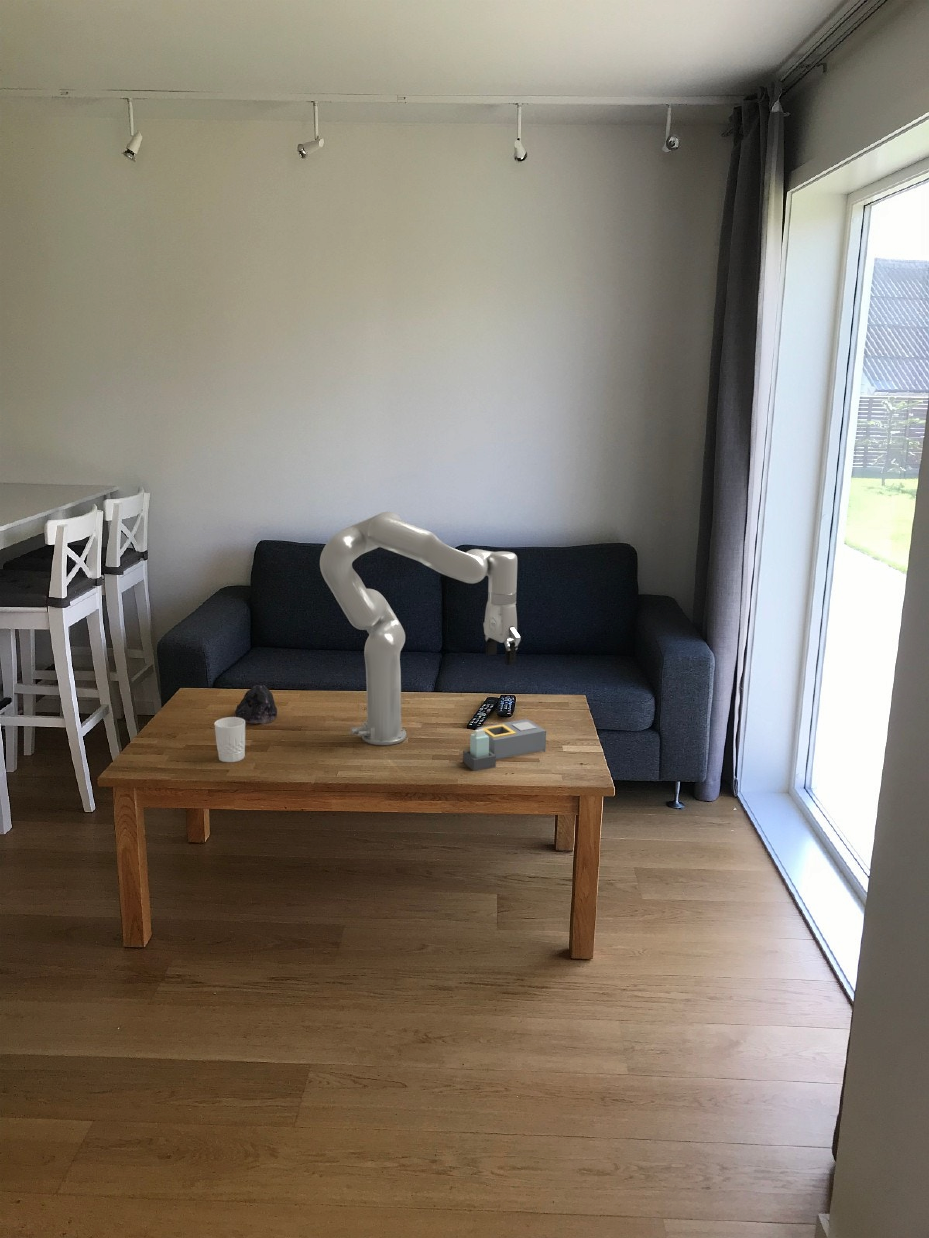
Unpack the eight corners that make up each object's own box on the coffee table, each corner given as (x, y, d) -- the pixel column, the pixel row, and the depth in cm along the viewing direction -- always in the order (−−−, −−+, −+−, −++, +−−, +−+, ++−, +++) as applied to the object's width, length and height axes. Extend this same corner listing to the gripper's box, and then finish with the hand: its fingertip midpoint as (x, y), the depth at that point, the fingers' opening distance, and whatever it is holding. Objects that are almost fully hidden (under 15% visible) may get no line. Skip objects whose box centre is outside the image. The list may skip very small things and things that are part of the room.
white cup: (231, 765, 240) (229, 729, 238) (210, 759, 245) (207, 723, 242) (253, 755, 247) (251, 720, 244) (231, 749, 251) (230, 714, 248)
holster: (473, 772, 238) (474, 760, 237) (462, 763, 244) (462, 751, 243) (495, 768, 241) (496, 755, 240) (484, 759, 247) (484, 747, 246)
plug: (476, 767, 240) (476, 733, 238) (469, 762, 243) (470, 728, 241) (488, 765, 242) (489, 731, 239) (482, 760, 245) (482, 726, 242)
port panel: (494, 761, 246) (494, 739, 244) (476, 748, 254) (476, 726, 253) (545, 751, 253) (546, 729, 251) (526, 738, 261) (527, 717, 260)
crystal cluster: (251, 731, 266) (253, 699, 263) (222, 716, 274) (225, 685, 272) (287, 722, 276) (290, 691, 274) (259, 708, 284) (261, 677, 282)
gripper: (473, 592, 253) (472, 652, 257) (507, 606, 238) (505, 669, 243) (497, 590, 257) (495, 649, 261) (531, 603, 242) (529, 665, 246)
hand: (500, 659), depth 252 cm, fingers open, 9 cm apart
